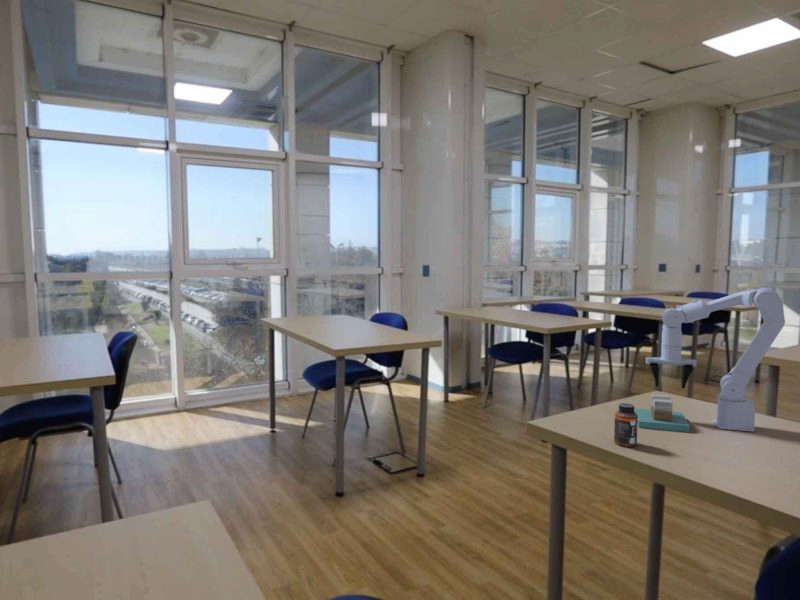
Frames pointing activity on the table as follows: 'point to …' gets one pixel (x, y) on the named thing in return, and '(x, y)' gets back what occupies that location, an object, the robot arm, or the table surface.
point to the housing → (661, 407)
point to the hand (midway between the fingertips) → (669, 386)
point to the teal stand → (675, 425)
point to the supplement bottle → (626, 425)
